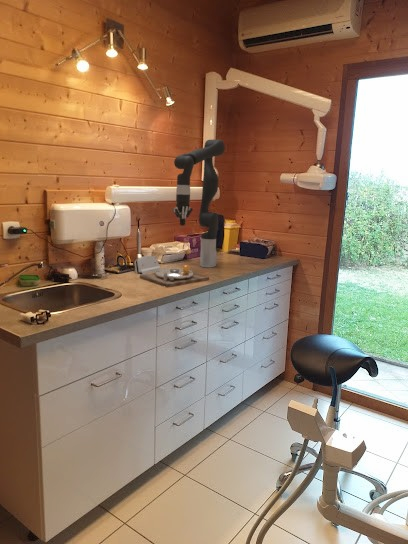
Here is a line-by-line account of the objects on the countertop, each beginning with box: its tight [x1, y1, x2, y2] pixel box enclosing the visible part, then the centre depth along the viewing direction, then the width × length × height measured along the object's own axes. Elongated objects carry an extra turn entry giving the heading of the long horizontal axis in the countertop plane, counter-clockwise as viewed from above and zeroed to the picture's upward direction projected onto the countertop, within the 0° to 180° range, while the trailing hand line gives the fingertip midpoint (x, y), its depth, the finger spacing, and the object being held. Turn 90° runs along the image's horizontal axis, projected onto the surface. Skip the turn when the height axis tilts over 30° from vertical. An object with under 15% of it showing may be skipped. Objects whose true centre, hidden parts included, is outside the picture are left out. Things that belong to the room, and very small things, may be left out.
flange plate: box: [155, 264, 194, 280], centre depth 222 cm, size 20×22×6 cm
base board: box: [139, 272, 210, 288], centre depth 224 cm, size 28×24×6 cm
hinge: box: [133, 255, 162, 275], centre depth 240 cm, size 17×5×10 cm, turn 145°
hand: (182, 225), depth 233 cm, fingers closed
